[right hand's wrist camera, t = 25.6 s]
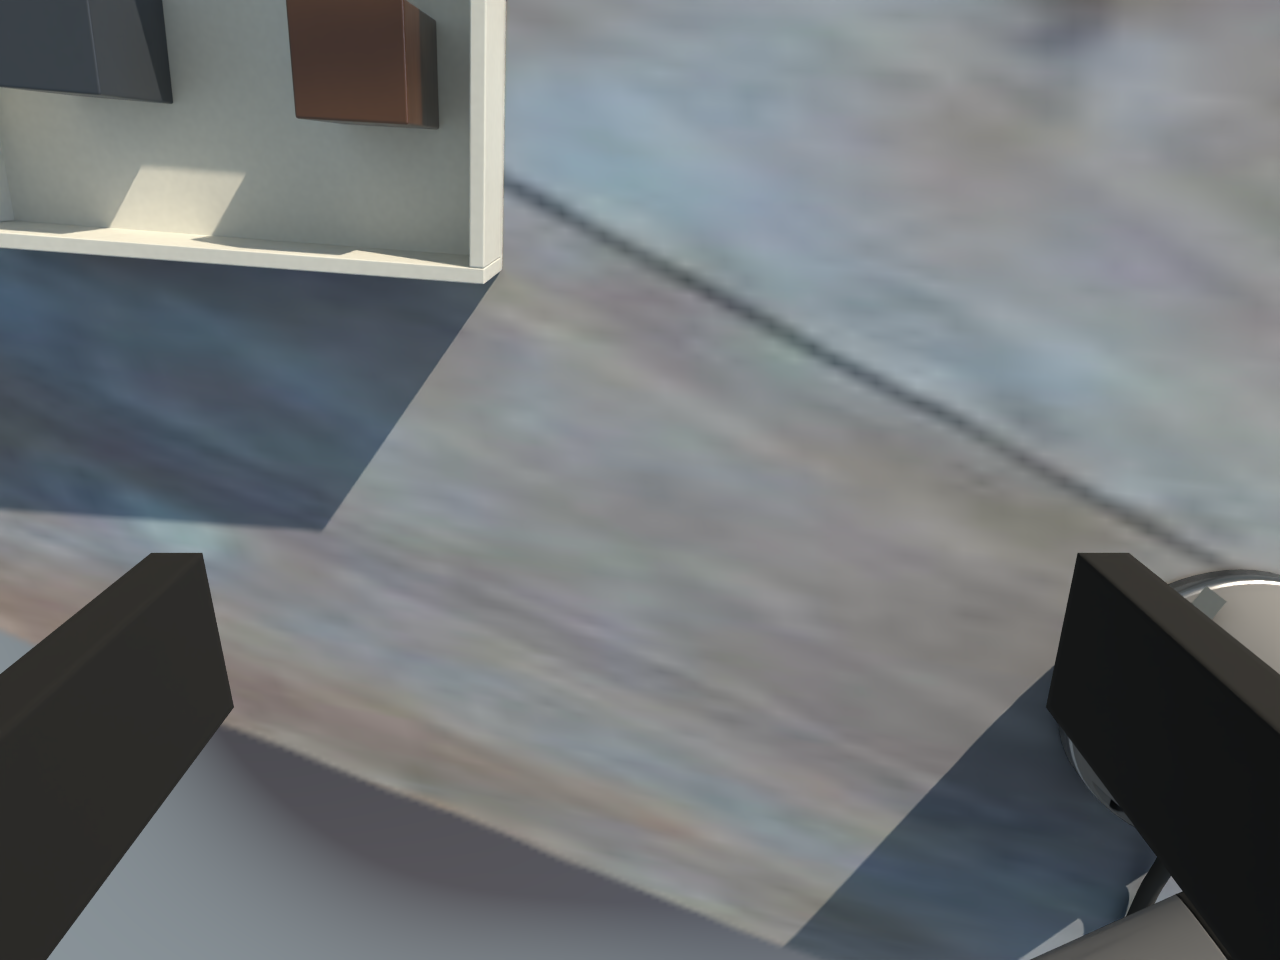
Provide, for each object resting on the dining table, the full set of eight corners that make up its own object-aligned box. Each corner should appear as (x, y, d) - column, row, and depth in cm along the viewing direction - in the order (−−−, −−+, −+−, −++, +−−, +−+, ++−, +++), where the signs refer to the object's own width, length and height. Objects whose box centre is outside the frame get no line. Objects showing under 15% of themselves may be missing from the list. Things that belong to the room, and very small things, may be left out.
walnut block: (439, 130, 34) (408, 125, 30) (341, 124, 34) (294, 118, 30) (436, 19, 33) (402, -4, 28) (334, 13, 33) (283, -11, 28)
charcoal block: (174, 104, 34) (100, 95, 29) (74, 95, 34) (-16, 85, 29) (162, -8, 33) (82, -36, 28) (57, -17, 33) (-40, -47, 28)
